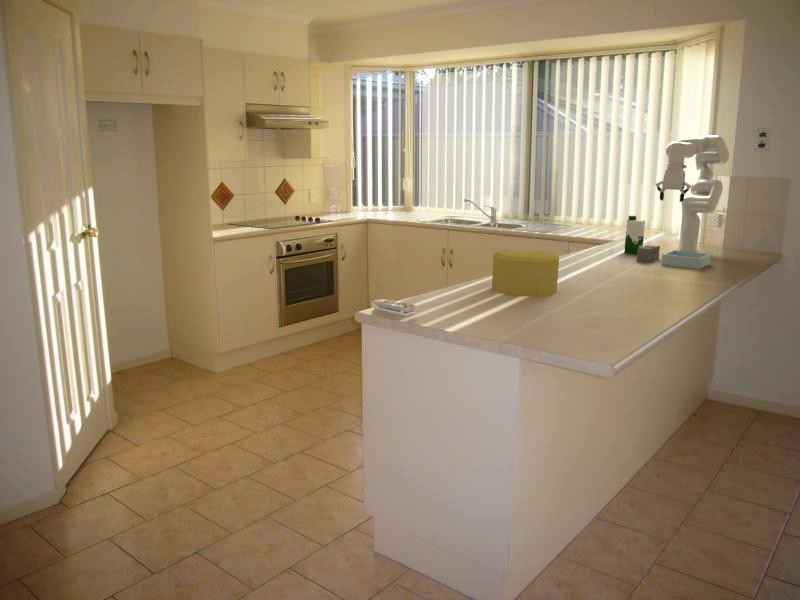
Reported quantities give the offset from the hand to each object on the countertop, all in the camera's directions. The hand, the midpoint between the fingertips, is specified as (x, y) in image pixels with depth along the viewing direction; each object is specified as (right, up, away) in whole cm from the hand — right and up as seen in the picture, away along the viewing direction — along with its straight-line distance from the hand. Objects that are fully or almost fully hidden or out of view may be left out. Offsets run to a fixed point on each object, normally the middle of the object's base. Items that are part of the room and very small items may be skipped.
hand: (671, 201), depth 354 cm
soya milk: (-12, -25, +22) cm, 36 cm away
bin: (+2, -33, -12) cm, 36 cm away
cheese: (-89, -47, -75) cm, 126 cm away
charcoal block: (-15, -31, -4) cm, 35 cm away
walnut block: (-9, -30, +4) cm, 31 cm away
